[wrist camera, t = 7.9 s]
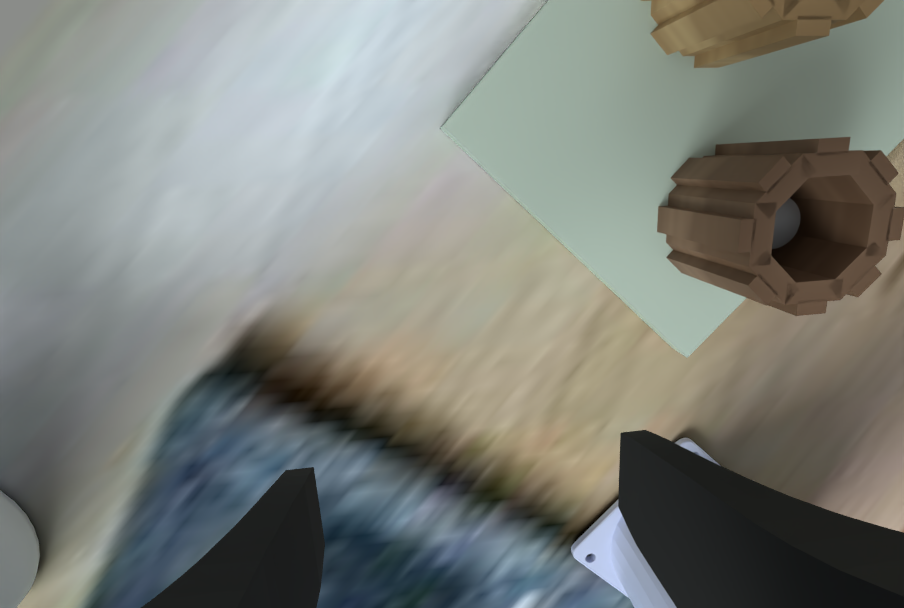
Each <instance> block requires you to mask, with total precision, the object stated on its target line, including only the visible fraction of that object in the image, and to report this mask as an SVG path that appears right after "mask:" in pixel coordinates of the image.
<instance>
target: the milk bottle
mask: <svg viewBox="0 0 904 608" xmlns="http://www.w3.org/2000/svg"><path fill="white" fill-rule="evenodd" d="M39 559H40V551H39V540H38V538H37V535H36V532H35V528H34V526H33V525H32V523H31V522H30V520H29V518H28V517H27V515H26V513H25V512H24V511H23V510H22V509H21V508H20V507H19V506H18V505H17V504H16V502H15V501H14V500H12V499H11V498H9V497H8V496H7V495H5V494H4V493H3V492H2V491H0V608H16V607H17V606H18V605H19V604H20V602H21V601H22V600H23V599H24V597H25V596H26V595H27V593H28V592H29V590H30V589H31V587H32V585H33V583H34V580H35V577H36V574H37V570H38V564H39Z"/></svg>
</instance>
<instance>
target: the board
mask: <svg viewBox="0 0 904 608" xmlns="http://www.w3.org/2000/svg"><path fill="white" fill-rule="evenodd" d="M657 26H658V24H657V23H656V21H655V20H654V19H653V18H652V16H651V1H641V0H548V1H547V2H546V3H545V4H544V6H543V7H542V8H541V9H540V10H539V11H538V13H537V14H536V15H535V16H534V17H533V19H532V20H531V21H530V22H529V23H528V25H527V26H526V27H525V28H524V29H523V30H522V32H521V33H520V34H519V35H518V36H517V38H516V39H515V40H514V41H513V42H512V44H511V45H510V46H509V47H508V48H507V49H506V51H505V52H504V53H503V54H502V55H501V57H500V58H499V59H498V60H497V61H496V63H495V64H494V65H493V66H492V67H491V68H490V70H489V71H488V72H487V73H486V74H485V76H484V77H483V78H482V79H481V80H480V82H479V83H478V84H477V85H476V86H475V87H474V89H473V90H472V91H471V92H470V93H469V95H468V96H467V97H466V98H465V99H464V101H463V102H462V103H461V104H460V105H459V106H458V108H457V109H456V110H455V111H454V112H453V114H452V115H451V116H450V117H449V118H448V120H447V121H446V122H445V123H444V124H443V125H442V127H441V128H440V129H441V130H442V131H443V132H444V133H445V134H446V135H448V136H449V137H450V138H451V139H452V140H453V141H454V142H455V143H456V144H457V145H458V146H459V147H460V148H461V149H462V150H463V151H464V152H466V153H467V154H468V155H469V156H470V157H471V158H472V159H473V160H474V161H475V162H476V163H477V164H478V165H479V166H480V167H481V168H482V169H483V170H485V171H486V172H487V173H488V174H489V175H490V176H491V177H492V178H493V179H494V180H495V181H496V182H497V183H498V184H499V185H500V186H501V187H503V188H504V189H505V190H506V191H507V192H508V193H509V194H510V195H511V196H512V197H513V198H514V199H515V200H516V201H517V202H518V203H519V204H521V205H522V206H523V207H524V208H525V209H526V210H527V211H528V212H529V213H530V214H531V215H532V216H533V217H534V218H535V219H536V220H537V221H539V222H540V223H541V224H542V225H543V226H544V227H545V228H546V229H547V230H548V231H549V232H550V233H551V234H552V235H553V236H554V237H555V238H556V239H558V240H559V241H560V242H561V243H562V244H563V245H564V246H565V247H566V248H567V249H568V250H569V251H570V252H571V253H572V254H573V255H574V256H576V257H577V258H578V259H579V260H580V261H581V262H582V263H583V264H584V265H585V266H586V267H587V268H588V269H589V270H590V271H591V272H592V273H594V274H595V275H596V276H597V277H598V278H599V279H600V280H601V281H602V282H603V283H604V284H605V285H606V286H607V287H608V288H609V289H610V290H611V291H613V292H614V293H615V294H616V295H617V296H618V297H619V298H620V299H621V300H622V301H623V302H624V303H625V304H626V305H627V306H628V307H629V308H631V309H632V310H633V311H634V312H635V313H636V314H637V315H638V316H639V317H640V318H641V319H642V320H643V321H644V322H645V323H646V324H647V325H649V326H650V327H651V328H652V329H653V330H654V331H655V332H656V333H657V334H658V335H659V336H660V337H661V338H662V339H663V340H664V341H665V342H667V343H668V344H669V345H670V346H671V347H672V348H673V349H674V350H676V351H678V352H679V353H681V354H682V355H684V356H685V357H687V358H688V357H689V356H690V355H691V353H692V352H693V351H694V350H695V349H696V348H697V347H698V346H699V345H700V344H701V343H702V342H703V341H704V340H705V339H706V338H707V337H708V336H709V335H710V334H711V333H712V332H713V331H714V330H715V329H716V328H717V327H718V326H719V325H720V324H721V323H722V322H723V321H724V320H725V319H726V318H727V317H728V316H729V315H730V314H731V313H732V312H733V311H734V310H735V309H736V308H737V307H738V306H739V305H740V304H741V303H742V302H743V301H744V300H745V299H746V297H743V296H741V295H738V294H735V293H733V292H730V291H727V290H725V289H722V288H720V287H717V286H714V285H712V284H709V283H706V282H704V281H701V280H698V279H696V278H693V277H690V276H688V275H685V274H683V273H681V272H680V271H679V270H678V269H677V268H676V267H675V266H674V265H673V264H672V263H671V262H670V261H669V260H668V259H667V258H666V257H667V256H668V255H669V254H670V253H671V252H672V251H673V249H672V248H671V247H670V246H669V245H668V244H667V243H666V234H663V233H659V232H657V221H658V206H668V195H669V193H670V192H671V191H672V190H673V189H674V188H675V187H676V184H675V182H674V181H673V180H672V179H671V177H672V176H673V175H674V174H675V172H676V171H677V170H678V169H679V168H680V167H681V166H682V165H683V164H684V163H685V162H686V161H687V160H688V158H703V156H712V155H715V149H716V144H733V143H750V142H768V141H785V140H802V139H820V138H837V137H851V138H850V145H849V150H863V151H869V150H881V151H882V152H883V153H884V155H885V156H887V155H888V154H889V153H890V152H891V151H892V150H893V149H894V148H895V147H896V146H897V145H898V144H899V143H900V142H901V141H902V140H903V139H904V0H884V1H883V2H882V3H881V4H880V5H879V6H878V7H877V8H876V9H875V10H874V11H873V12H872V13H871V14H870V15H869V16H868V17H867V18H866V19H862V20H859V21H856V22H852V23H849V24H846V25H843V26H839V27H836V28H833V29H830V33H829V36H826V37H823V38H819V39H816V40H813V41H809V42H806V43H802V44H799V45H795V46H792V47H789V48H785V49H782V50H778V51H775V52H771V53H768V54H765V55H761V56H758V57H754V58H751V59H747V60H744V61H741V62H737V63H734V64H730V65H727V66H723V67H720V68H694V59H695V56H682V54H681V53H680V52H679V51H677V52H674V53H672V54H669V55H667V54H666V53H665V52H664V50H663V49H662V48H661V47H660V45H659V44H658V43H657V42H656V40H655V39H654V38H653V37H652V35H651V32H652V31H653V30H654V29H655V28H656V27H657ZM799 225H800V211H799V208H798V206H797V204H796V203H795V202H794V201H793V200H792V199H790V198H789V199H788V200H787V201H786V202H785V203H784V204H783V205H782V206H781V207H780V208H779V209H778V210H777V211H776V216H775V225H774V234H773V243H772V249H775V248H779V247H782V246H784V245H785V244H787V243H788V242H789V241H790V240H791V239H792V238H793V237H794V236H795V234H796V232H797V230H798V228H799Z"/></svg>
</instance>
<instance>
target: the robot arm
mask: <svg viewBox="0 0 904 608" xmlns="http://www.w3.org/2000/svg"><path fill="white" fill-rule="evenodd" d="M693 452H695V453H693ZM324 547H325V542H324V535H323V528H322V521H321V514H320V508H319V501H318V494H317V487H316V480H315V474H314V467H311V468H302V469H294V470H286V471H285V472H284V473H283V474H282V475H281V476H280V477H279V478H278V480H277V481H276V482H275V483H274V484H273V485H272V486H271V487H270V488H269V489H268V491H267V492H266V493H265V494H264V495H263V496H262V497H261V498H260V499H259V501H258V502H257V503H256V504H255V505H254V506H253V507H252V508H251V509H250V510H249V512H248V513H247V514H246V515H245V516H244V517H243V518H242V519H241V520H240V521H239V522H238V523H237V524H236V525H235V526H234V527H233V528H232V529H231V530H230V531H229V532H228V533H227V534H226V535H225V536H224V537H223V538H222V539H221V540H220V541H219V542H218V543H217V544H216V545H215V546H214V547H213V548H212V549H211V550H210V551H209V552H208V553H207V554H206V555H205V556H203V557H202V558H201V559H200V560H199V561H198V562H197V563H196V564H195V565H194V566H192V567H191V568H190V569H189V570H188V571H187V572H185V573H184V574H183V575H182V576H181V577H180V578H178V579H177V580H176V581H175V582H173V583H172V584H171V585H170V586H169V587H167V588H166V589H165V590H164V591H162V592H161V593H160V594H159V595H157V596H156V597H155V598H154V599H152V600H151V601H150V602H148V603H147V604H145V605H144V606H143V607H141V608H316V607H317V602H318V597H319V593H320V588H321V578H322V569H323V558H324ZM571 551H572V554H573V556H574V558H575V559H576V560H578V561H579V562H580V563H582V564H583V565H584V566H586V567H587V568H589V569H590V570H591V571H593V572H594V573H595V574H597V575H598V576H600V577H601V578H602V579H604V580H605V581H606V582H608V583H609V584H611V585H612V586H613V587H615V588H616V589H617V590H619V591H620V592H622V593H623V594H624V595H626V596H627V597H628V598H630V600H631V602H632V604H633V606H634V607H635V608H904V533H903V532H899V531H895V530H891V529H888V528H884V527H881V526H878V525H874V524H871V523H867V522H864V521H861V520H857V519H854V518H850V517H847V516H844V515H841V514H838V513H835V512H832V511H829V510H826V509H823V508H820V507H818V506H815V505H812V504H809V503H807V502H804V501H801V500H798V499H796V498H793V497H790V496H788V495H785V494H783V493H780V492H778V491H775V490H773V489H771V488H768V487H766V486H764V485H761V484H759V483H757V482H754V481H752V480H750V479H748V478H745V477H743V476H741V475H739V474H737V473H734V472H732V471H730V470H728V469H726V468H724V467H722V466H720V465H719V464H718V463H717V462H716V461H715V460H714V459H713V458H711V457H710V456H709V455H708V454H707V453H706V452H705V451H704V450H702V449H701V448H700V447H699V446H698V445H697V444H696V443H695V442H693V441H692V440H691V439H689V438H681V439H679V440H678V441H677V442H676V443H673V442H671V441H669V440H667V439H665V438H663V437H661V436H659V435H656V434H654V433H652V432H649V431H646V430H642V431H633V432H624V433H621V440H620V470H619V499H618V500H617V501H616V502H615V503H614V504H613V505H612V506H611V507H610V508H609V509H608V510H607V511H606V512H605V513H604V514H603V515H602V516H601V517H600V518H599V519H598V520H597V521H596V522H595V523H594V524H593V525H592V526H591V527H590V528H589V529H588V530H587V531H586V532H585V533H584V534H583V535H581V536H580V537H579V538H578V539H577V540H576V541H575V542H574V544H573V545H572V548H571ZM588 554H592V555H591V556H589V557H586V556H587V555H588Z"/></svg>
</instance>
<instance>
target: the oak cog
mask: <svg viewBox="0 0 904 608" xmlns="http://www.w3.org/2000/svg"><path fill="white" fill-rule="evenodd" d="M641 1H651V16H652V18H653V19H654V20H655V21H656V23H657V24H658V26H657V27H656V28H655V29H654V30H653V31H652V32H651V35H652V37H653V38H654V39H655V40H656V42H657V43H658V44H659V45H660V47H661V48H662V49H663V50H664V52H665V53H666V54H667V55H669V54H672V53H674V52H677V51H679V52H680V53H681V54H682V56H695V59H694V68H720V67H723V66H727V65H730V64H734V63H737V62H741V61H744V60H747V59H751V58H754V57H758V56H761V55H765V54H768V53H771V52H775V51H778V50H782V49H785V48H789V47H792V46H795V45H799V44H802V43H806V42H809V41H813V40H816V39H819V38H823V37H826V36H829V33H830V29H833V28H836V27H839V26H843V25H846V24H849V23H852V22H856V21H859V20H862V19H866V18H867V17H868V16H869V15H870V14H871V13H872V12H873V11H874V10H875V9H876V8H877V7H878V6H879V5H880V4H881V3H882V2H883V1H884V0H641Z"/></svg>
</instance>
